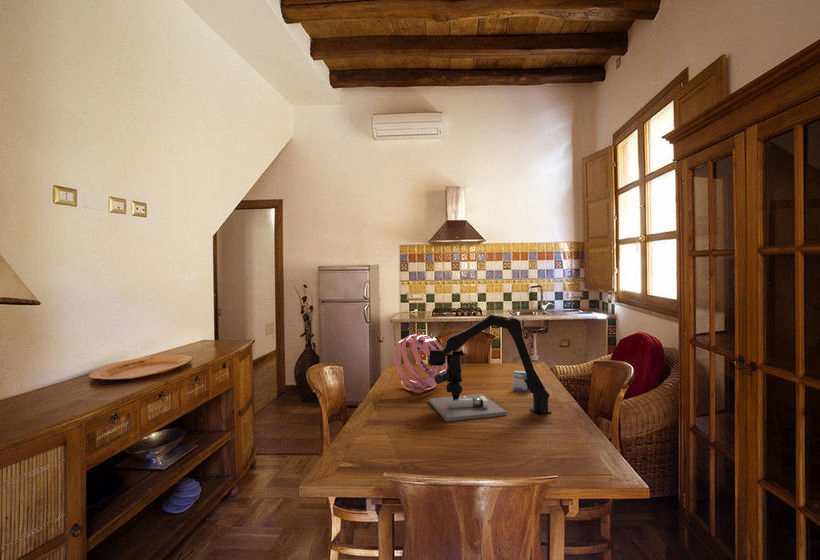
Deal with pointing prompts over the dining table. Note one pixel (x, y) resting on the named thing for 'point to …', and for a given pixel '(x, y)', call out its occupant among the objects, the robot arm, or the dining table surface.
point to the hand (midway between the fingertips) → (455, 402)
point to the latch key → (468, 402)
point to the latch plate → (465, 409)
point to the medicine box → (519, 381)
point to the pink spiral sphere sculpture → (424, 348)
